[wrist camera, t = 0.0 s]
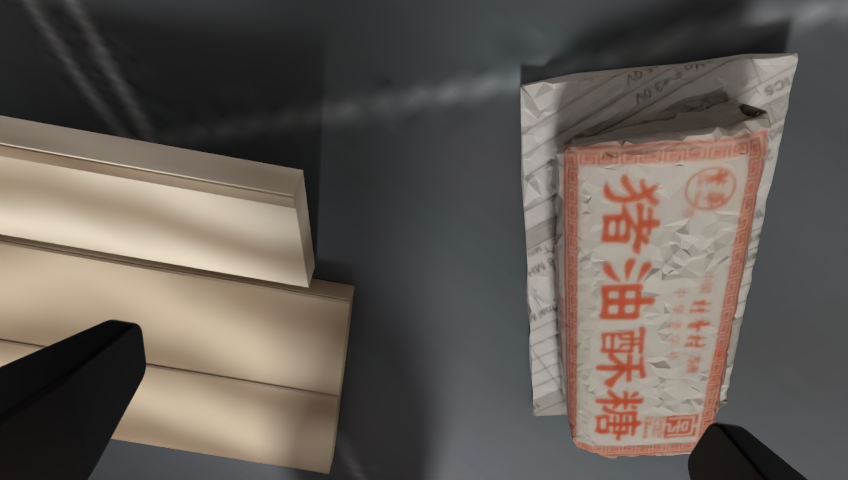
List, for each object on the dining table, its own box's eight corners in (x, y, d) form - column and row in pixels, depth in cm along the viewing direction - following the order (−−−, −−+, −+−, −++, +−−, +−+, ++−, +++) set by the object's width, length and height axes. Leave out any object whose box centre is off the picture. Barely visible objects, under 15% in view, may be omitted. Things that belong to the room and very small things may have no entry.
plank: (314, 266, 24) (308, 288, 23) (-18, 208, 23) (-36, 229, 23) (303, 169, 18) (293, 196, 17) (-141, 90, 17) (-170, 113, 17)
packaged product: (761, 467, 23) (543, 476, 24) (712, 390, 27) (529, 400, 28) (871, 62, 14) (531, 104, 16) (776, 44, 19) (514, 78, 20)
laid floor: (333, 456, 31) (329, 474, 29) (11, 404, 30) (-6, 420, 29) (354, 285, 24) (349, 300, 23) (-50, 215, 24) (-75, 226, 23)
